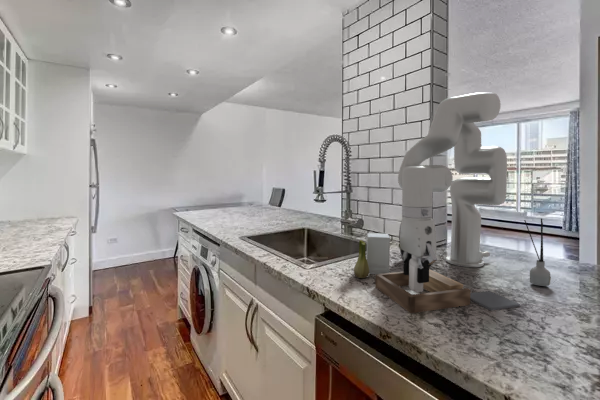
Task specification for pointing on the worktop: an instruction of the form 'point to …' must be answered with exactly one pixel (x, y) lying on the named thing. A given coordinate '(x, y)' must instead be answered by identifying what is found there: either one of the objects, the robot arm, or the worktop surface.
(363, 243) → the fennel bulb
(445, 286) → the wooden block
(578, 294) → the worktop surface
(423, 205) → the robot arm
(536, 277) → the reed diffuser
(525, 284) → the worktop surface
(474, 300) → the slate mat
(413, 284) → the eye dropper bottle
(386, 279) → the walnut rack
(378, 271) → the supplement box
